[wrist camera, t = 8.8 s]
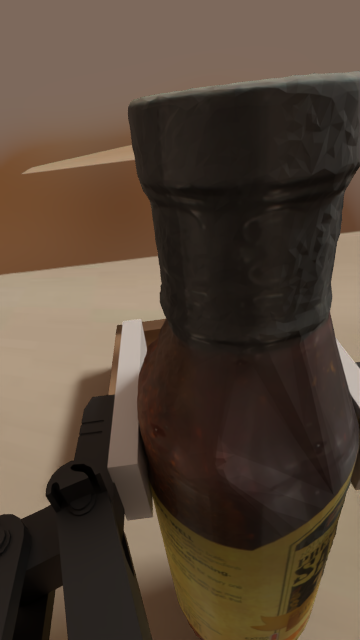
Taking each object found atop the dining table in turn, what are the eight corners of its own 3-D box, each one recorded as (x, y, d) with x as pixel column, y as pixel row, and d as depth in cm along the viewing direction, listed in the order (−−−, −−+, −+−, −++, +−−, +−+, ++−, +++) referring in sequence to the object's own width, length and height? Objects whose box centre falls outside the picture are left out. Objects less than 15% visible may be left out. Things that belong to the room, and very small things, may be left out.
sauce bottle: (311, 697, 13) (751, 15, 2) (160, 642, 15) (-91, 121, 4) (307, 522, 18) (415, 61, 7) (195, 497, 20) (137, 95, 9)
